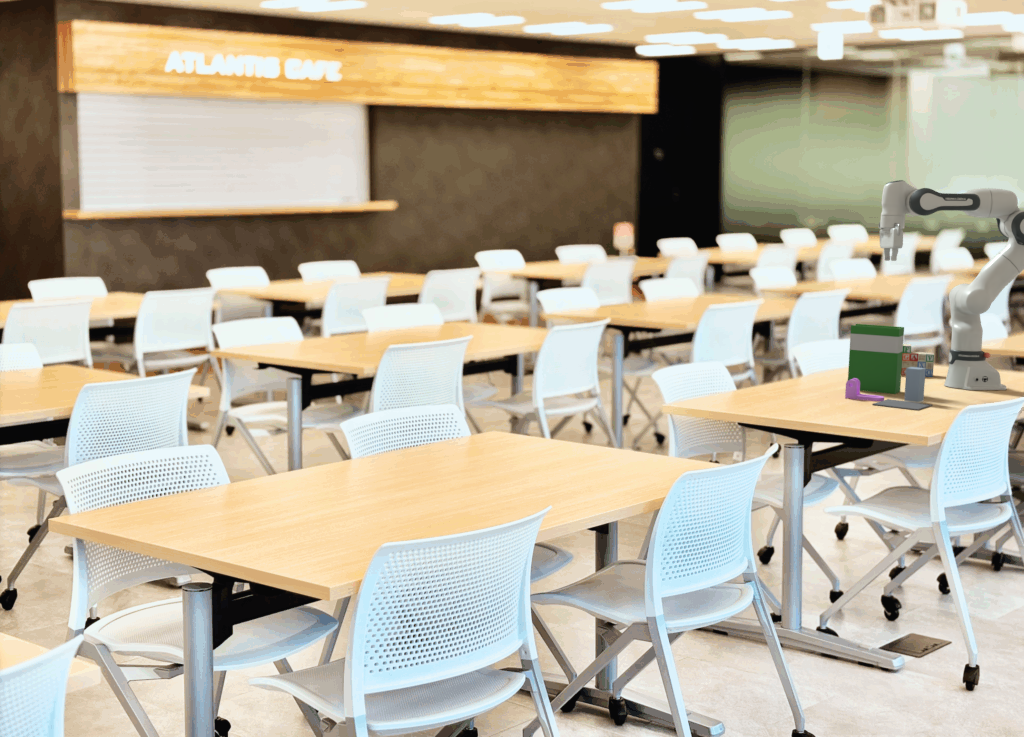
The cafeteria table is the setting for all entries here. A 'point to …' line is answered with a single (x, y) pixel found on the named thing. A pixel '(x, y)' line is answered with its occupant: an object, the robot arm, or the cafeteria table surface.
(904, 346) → the stack of blocks
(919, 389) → the slate block
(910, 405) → the mat
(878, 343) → the hardback book
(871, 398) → the bracket
